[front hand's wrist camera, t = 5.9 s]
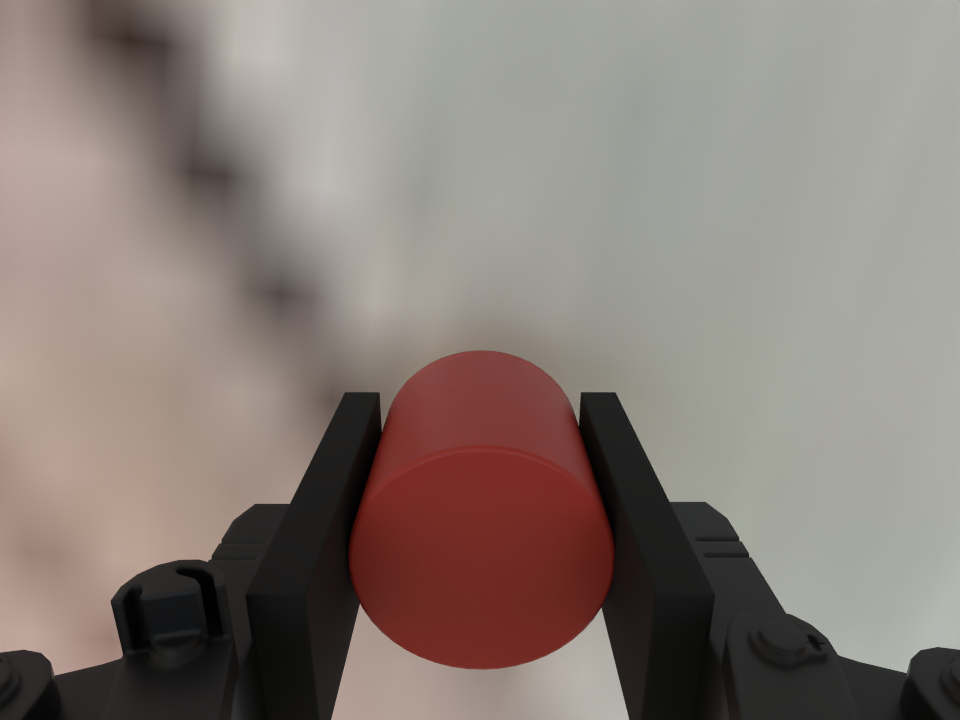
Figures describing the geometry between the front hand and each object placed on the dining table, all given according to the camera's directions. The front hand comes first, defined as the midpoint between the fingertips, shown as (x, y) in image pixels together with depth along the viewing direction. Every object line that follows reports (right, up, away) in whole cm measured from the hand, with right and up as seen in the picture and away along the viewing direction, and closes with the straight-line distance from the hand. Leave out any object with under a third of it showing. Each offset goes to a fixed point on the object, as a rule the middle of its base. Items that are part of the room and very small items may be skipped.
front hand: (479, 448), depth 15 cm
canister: (0, 0, 0) cm, 0 cm away
